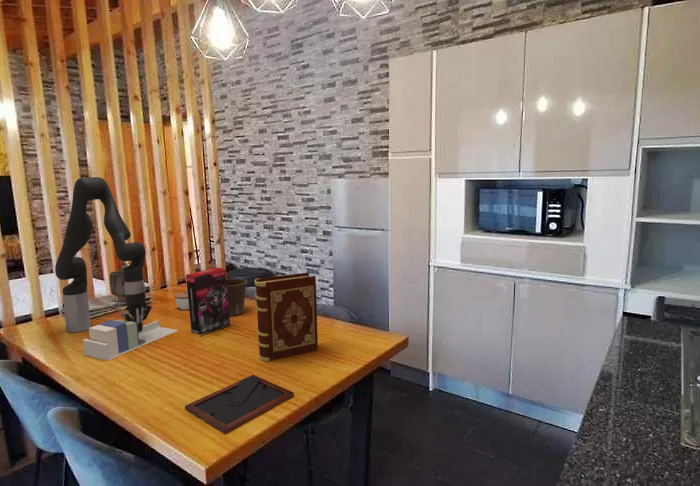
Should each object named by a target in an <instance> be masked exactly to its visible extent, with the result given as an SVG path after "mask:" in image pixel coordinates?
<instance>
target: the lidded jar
mask: <svg viewBox="0 0 700 486" xmlns="http://www.w3.org/2000/svg"><path fill="white" fill-rule="evenodd" d="M174 300H175V302H174V303H175V304H176V306H177V307H178V309H180V310H181V311H182V310H183V311H187V310H189V301H188V291H187V290H184V291H182V292H177V293H175V294H174Z"/></svg>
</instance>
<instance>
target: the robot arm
mask: <svg viewBox="0 0 700 486" xmlns="http://www.w3.org/2000/svg"><path fill="white" fill-rule="evenodd" d="M95 200H99V201H100V202H101V203H102V204H103V207H104V216H103V223H104V224H103V225H104V227H105V229H106V231H107V233H108V235H109V236H110V238H111V240H112V243H113V247H114V251H115V254H116V257H117V258H118V260H119V259H120V262H121V261H122V262H123V263H124V262H129V261H130V263H129V264H128V266H127V267H125V268H124V270H123V274H124V291H125V297H124V300H125V305H126V309H125V311H124V313H122V314H121V317H122V318H123V320H124V319H125V320H126V321H131V322H136V323H137V324H138V332H141V331H142V329H143V326H144V325H143V322H144V321H145V320H147V318H148V316H149V314H150V312H151V310H152V306H151V305H148V304H147V302H146V301H147V296H146V287H145V282H144V272H143V269H144V264H145V258H146V249H145V248H146V247H145V246H144V244H143V243H141V242H140V241H134V242H129V243H127V241H128V240H129V239H130V238H131V236H132V235H131V234H132V233H131V231H130V229H129V228H128V227H127V224H126V223H125V221H124V220H123V218H122V216H121V214H120V212H119V210H118V207H117V205H116V201H115V199H114V197H113V194H112V191H111V189H110V186H109V184H108V182H107V181H106V180H105V179H104V178H102V177H98V176H92V177H80V178H77V179H76V181H75V183H74V186H73V192H72V200H71V201H72V202H71V208H70V213H69V217H68V222H67V225H66V229H65V234H64V238H63V244H62V246H61V248H60V252H59V255H58V257H57V260H56V263H55V267H54V269H55V270H54V273H55V276H56V277H57V279H58V280H61V281H65V280H71V282H70V283H69V284H67V285H66V286H64V287H63V288H62V296H63V297H62V298H63V306H64V311H63V312H64V319H65V326H66V327H65V328H66V330H67V332H68V333H79V332H83V331H88V330H89V328H90V327H92V324H91V322H92V321H91V314H90V307H89V306H90V305H89V304H90V303H89V298H88V275H87V274H88V273H87V271H88V269H87V264H86V261H85V260H84V258H83V257H80V256H76V255H77V254H78V252H79V251H81V250H82V249H83V248H84V247H85V246H86V245H87V244H88V242H89V241H90V238H91V236H92V233H93V229H94V224H93V221H92V220H91V218H90V216H89V214H88V212H87V208H88V207H87V205H88V202H89V201H95Z"/></svg>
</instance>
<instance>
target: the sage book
mask: <svg viewBox="0 0 700 486" xmlns="http://www.w3.org/2000/svg"><path fill="white" fill-rule="evenodd" d="M114 321H118V322H124V323H126V329H127V339H128V349H129V350H130V349H133V348H135V347H138V338H137V328H136V322H131V321H127V320H126V319H125V320H124V319H120V318H119V319H115V320H114ZM138 348H139V347H138ZM133 350H134V349H133Z"/></svg>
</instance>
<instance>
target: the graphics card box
mask: <svg viewBox="0 0 700 486" xmlns="http://www.w3.org/2000/svg"><path fill="white" fill-rule="evenodd" d="M226 272H227V271H226V269H225V268H223V267H215V268H210V269H205V270H200V271H195V272H192V273H187V274H185V280H186V288H187V290H186V292H188V301H189V309H188V310H189V319H190V330H191V333H193V334H196V335H199V337H204V336H206V335H208V334H211V333H214V332H216V331H219V330H221V329H222V330H223V328H226V327H229V326H231V318H230V317H231V316H230V315H229V305H228V293H227V281H226V279H227V273H226Z"/></svg>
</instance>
